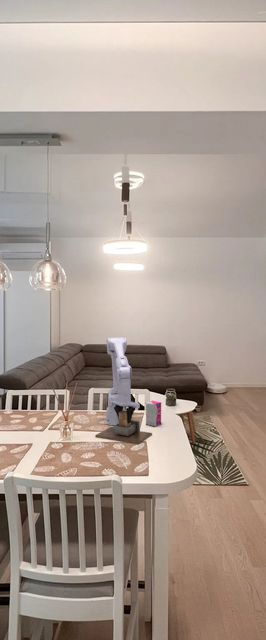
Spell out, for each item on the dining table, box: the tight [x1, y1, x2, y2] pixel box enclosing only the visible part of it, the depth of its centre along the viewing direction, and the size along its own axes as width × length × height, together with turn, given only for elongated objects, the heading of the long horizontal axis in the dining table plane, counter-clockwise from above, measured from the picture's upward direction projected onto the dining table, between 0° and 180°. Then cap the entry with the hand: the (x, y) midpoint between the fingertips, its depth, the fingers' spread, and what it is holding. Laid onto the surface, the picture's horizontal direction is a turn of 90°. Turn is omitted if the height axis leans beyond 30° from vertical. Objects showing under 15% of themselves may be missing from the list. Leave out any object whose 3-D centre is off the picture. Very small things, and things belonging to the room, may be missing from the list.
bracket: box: [94, 419, 153, 445], centre depth 176 cm, size 22×14×6 cm, turn 62°
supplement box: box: [145, 400, 162, 428], centre depth 193 cm, size 6×6×12 cm
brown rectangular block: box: [119, 410, 131, 427], centre depth 176 cm, size 4×4×7 cm
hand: (124, 422), depth 176 cm, fingers closed on brown rectangular block, 4 cm apart
